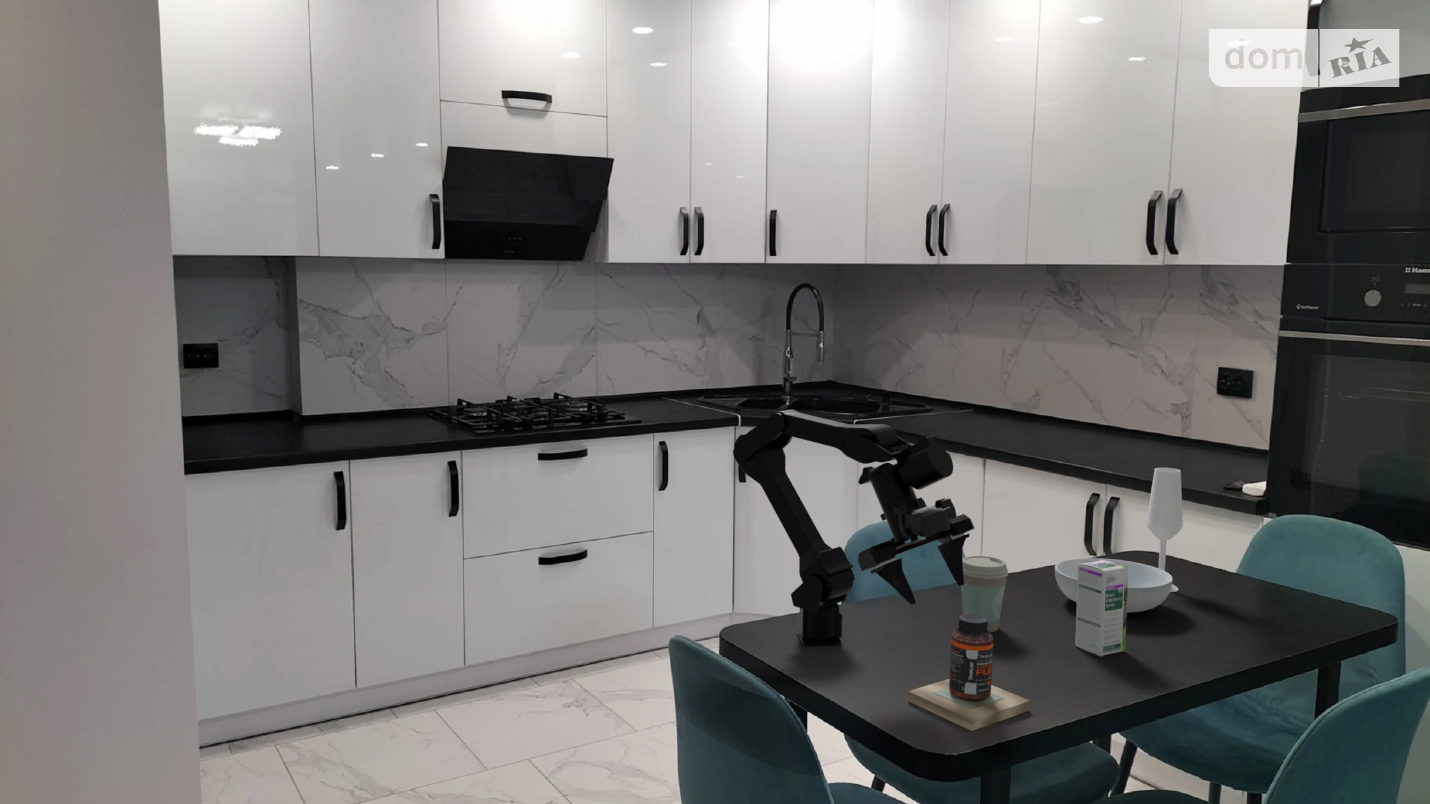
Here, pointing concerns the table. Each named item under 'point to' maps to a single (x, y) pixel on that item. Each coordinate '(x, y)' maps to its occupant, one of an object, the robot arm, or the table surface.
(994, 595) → the coffee cup
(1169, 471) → the champagne flute
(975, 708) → the board
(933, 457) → the robot arm
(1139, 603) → the serving bowl
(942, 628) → the table surface
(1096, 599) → the syrup box
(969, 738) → the table surface
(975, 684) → the supplement bottle
